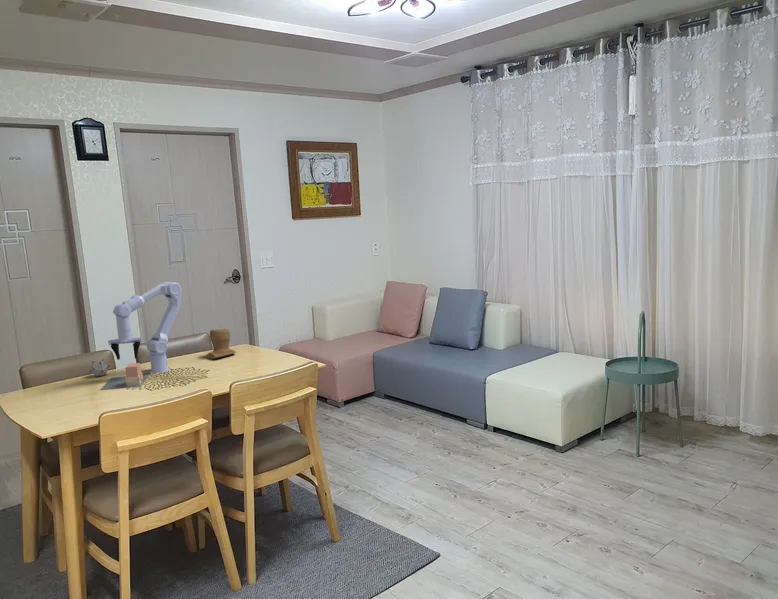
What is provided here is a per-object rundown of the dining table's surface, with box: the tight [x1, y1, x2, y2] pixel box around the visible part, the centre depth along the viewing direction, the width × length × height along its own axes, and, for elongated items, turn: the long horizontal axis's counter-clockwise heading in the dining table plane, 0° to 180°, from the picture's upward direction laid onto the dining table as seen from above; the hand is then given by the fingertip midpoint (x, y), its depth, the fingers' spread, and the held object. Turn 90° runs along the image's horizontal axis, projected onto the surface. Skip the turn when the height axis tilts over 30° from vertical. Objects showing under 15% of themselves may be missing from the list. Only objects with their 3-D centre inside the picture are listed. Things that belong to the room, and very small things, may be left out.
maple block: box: [126, 372, 144, 386], centre depth 272 cm, size 7×6×4 cm
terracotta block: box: [124, 362, 142, 378], centre depth 272 cm, size 7×5×4 cm
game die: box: [88, 359, 111, 378], centre depth 290 cm, size 9×8×10 cm
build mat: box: [98, 373, 151, 391], centre depth 277 cm, size 22×17×1 cm
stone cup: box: [207, 327, 237, 360], centre depth 320 cm, size 15×12×15 cm
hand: (127, 358), depth 283 cm, fingers open, 7 cm apart
